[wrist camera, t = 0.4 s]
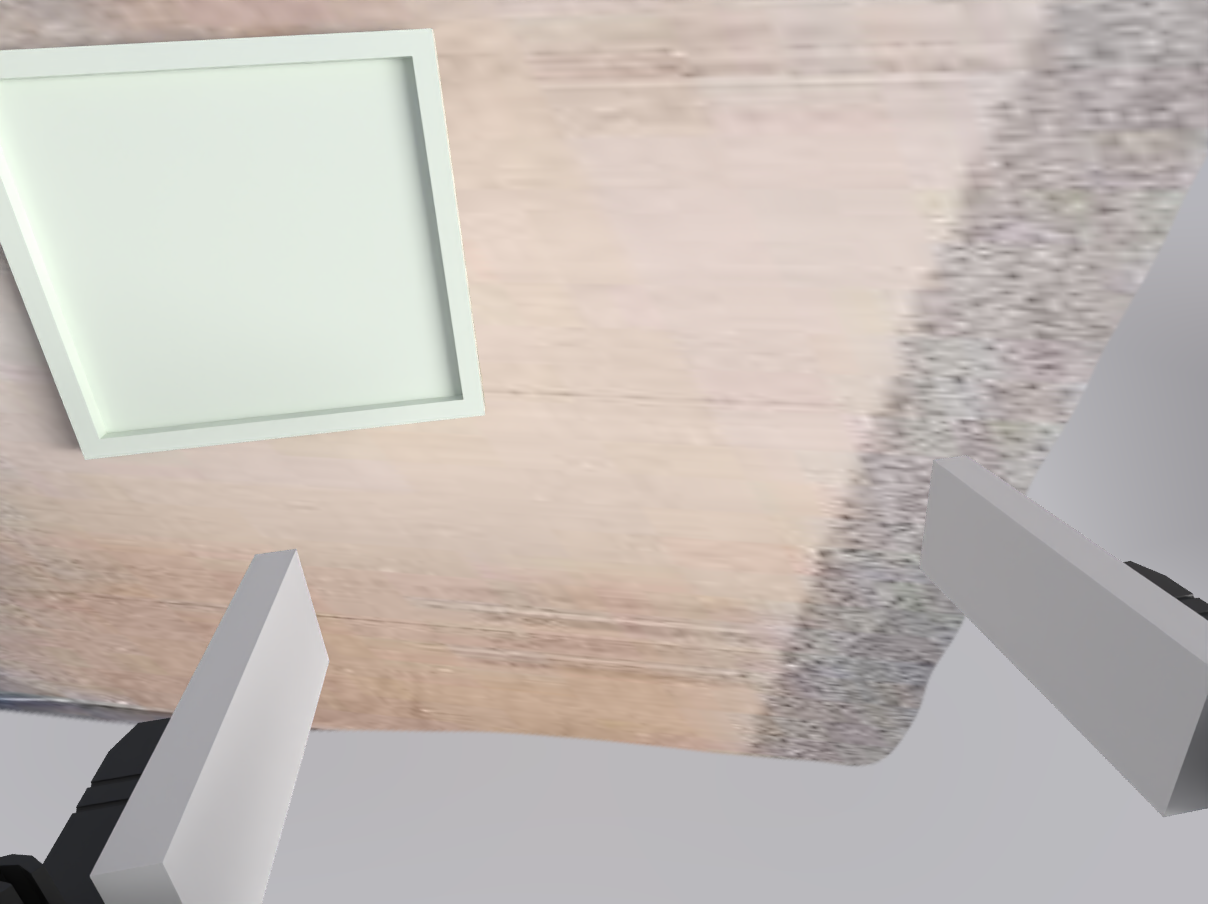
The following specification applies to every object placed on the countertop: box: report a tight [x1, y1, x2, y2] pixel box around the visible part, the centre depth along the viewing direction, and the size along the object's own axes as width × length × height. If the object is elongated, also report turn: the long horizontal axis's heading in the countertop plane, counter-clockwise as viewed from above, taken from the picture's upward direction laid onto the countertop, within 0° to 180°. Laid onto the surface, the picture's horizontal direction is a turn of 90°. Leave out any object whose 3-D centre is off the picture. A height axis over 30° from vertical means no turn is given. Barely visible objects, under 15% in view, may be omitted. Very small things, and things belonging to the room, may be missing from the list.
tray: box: [0, 28, 485, 460], centre depth 35 cm, size 18×20×2 cm
